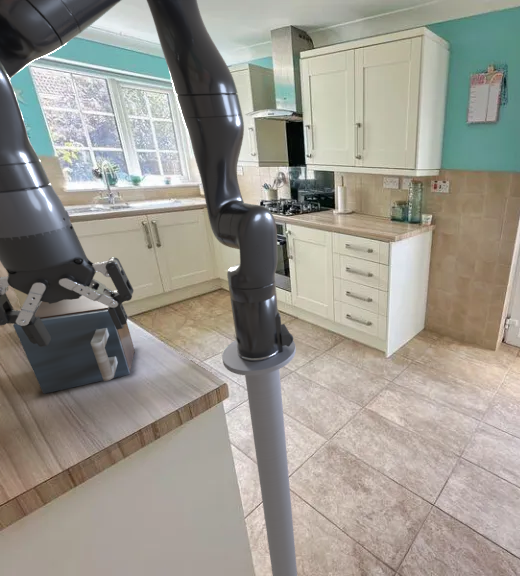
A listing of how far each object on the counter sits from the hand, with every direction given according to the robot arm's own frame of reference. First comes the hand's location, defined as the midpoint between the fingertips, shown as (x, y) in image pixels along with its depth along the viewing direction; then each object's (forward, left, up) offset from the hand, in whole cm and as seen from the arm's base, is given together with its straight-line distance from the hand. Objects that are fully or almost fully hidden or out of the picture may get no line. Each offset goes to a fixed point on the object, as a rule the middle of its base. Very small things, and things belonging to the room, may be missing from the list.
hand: (85, 334), depth 47 cm
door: (+7, -14, -18) cm, 24 cm away
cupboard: (+7, -22, -19) cm, 29 cm away
